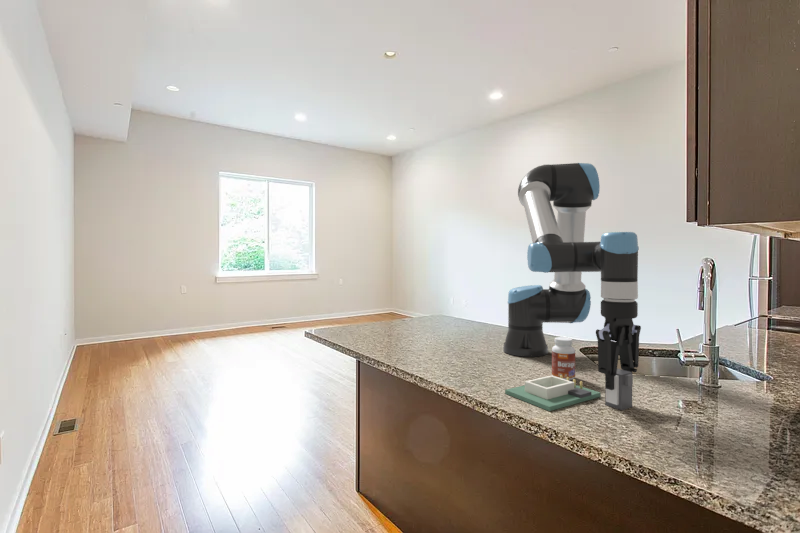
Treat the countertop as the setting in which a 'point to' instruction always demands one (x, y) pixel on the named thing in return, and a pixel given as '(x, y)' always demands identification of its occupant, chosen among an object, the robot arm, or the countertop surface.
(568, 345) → the pill bottle
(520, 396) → the header board
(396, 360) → the countertop surface
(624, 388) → the plug
